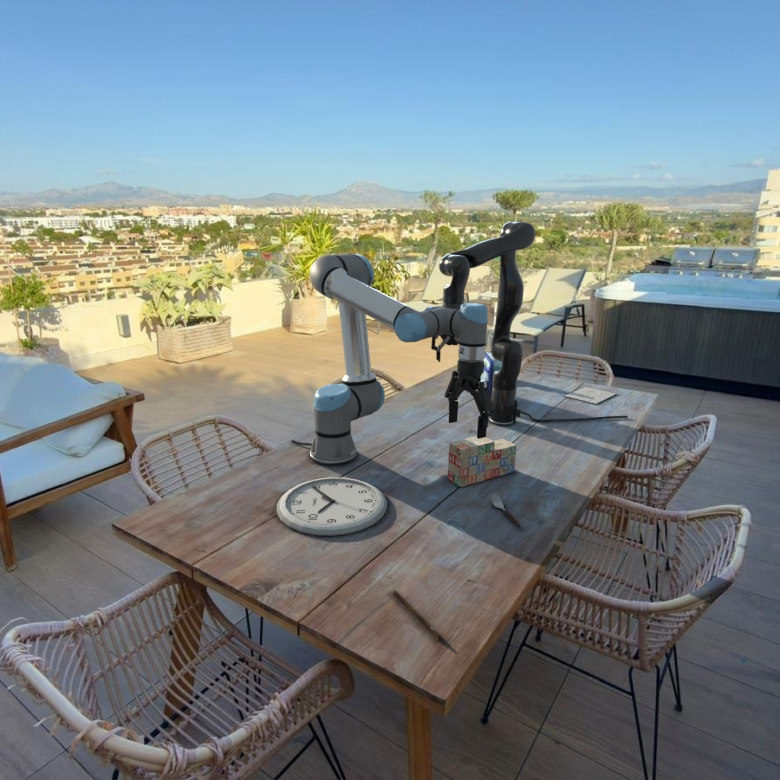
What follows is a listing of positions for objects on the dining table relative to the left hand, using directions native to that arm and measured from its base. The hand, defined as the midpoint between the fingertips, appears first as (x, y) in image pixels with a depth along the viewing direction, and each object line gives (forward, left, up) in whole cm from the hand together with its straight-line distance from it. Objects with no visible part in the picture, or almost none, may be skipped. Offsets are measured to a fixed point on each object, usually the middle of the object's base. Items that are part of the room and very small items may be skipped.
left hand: (466, 429), depth 153 cm
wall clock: (-29, -29, -16) cm, 44 cm away
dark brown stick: (+5, -60, -16) cm, 63 cm away
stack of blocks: (+4, +5, -16) cm, 18 cm away
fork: (+16, -15, -16) cm, 27 cm away
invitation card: (+33, +107, -16) cm, 113 cm away
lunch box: (-8, +82, -16) cm, 84 cm away
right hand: (-14, +31, +12) cm, 36 cm away
